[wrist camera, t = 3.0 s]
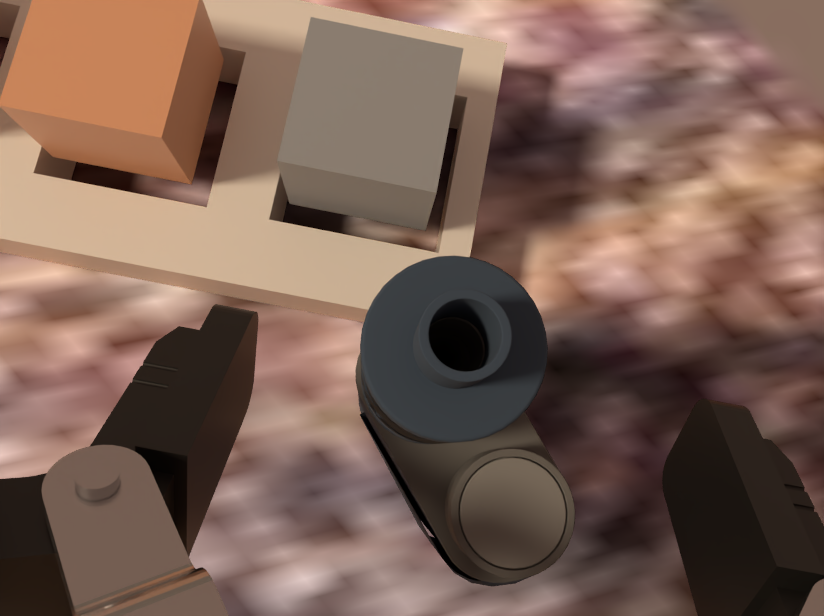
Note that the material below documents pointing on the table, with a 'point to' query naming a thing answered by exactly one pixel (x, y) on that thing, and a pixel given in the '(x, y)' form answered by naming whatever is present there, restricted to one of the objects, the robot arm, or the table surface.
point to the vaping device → (465, 416)
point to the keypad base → (242, 179)
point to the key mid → (117, 83)
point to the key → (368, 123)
